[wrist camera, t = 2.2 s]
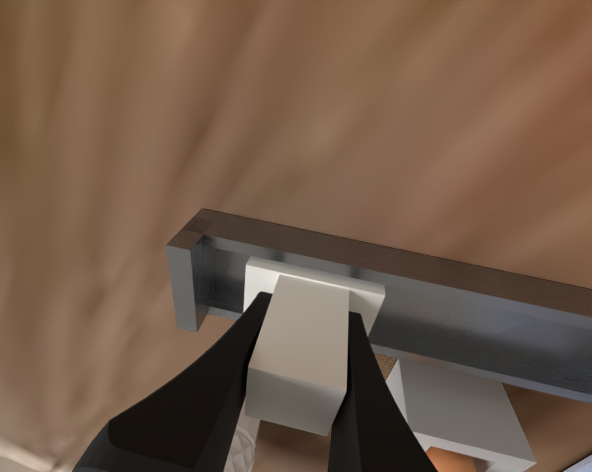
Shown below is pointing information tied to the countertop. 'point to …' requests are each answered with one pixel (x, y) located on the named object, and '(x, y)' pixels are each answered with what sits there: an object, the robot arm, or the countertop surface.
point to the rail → (403, 301)
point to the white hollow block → (461, 416)
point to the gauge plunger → (450, 460)
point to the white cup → (243, 444)
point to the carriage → (303, 342)
